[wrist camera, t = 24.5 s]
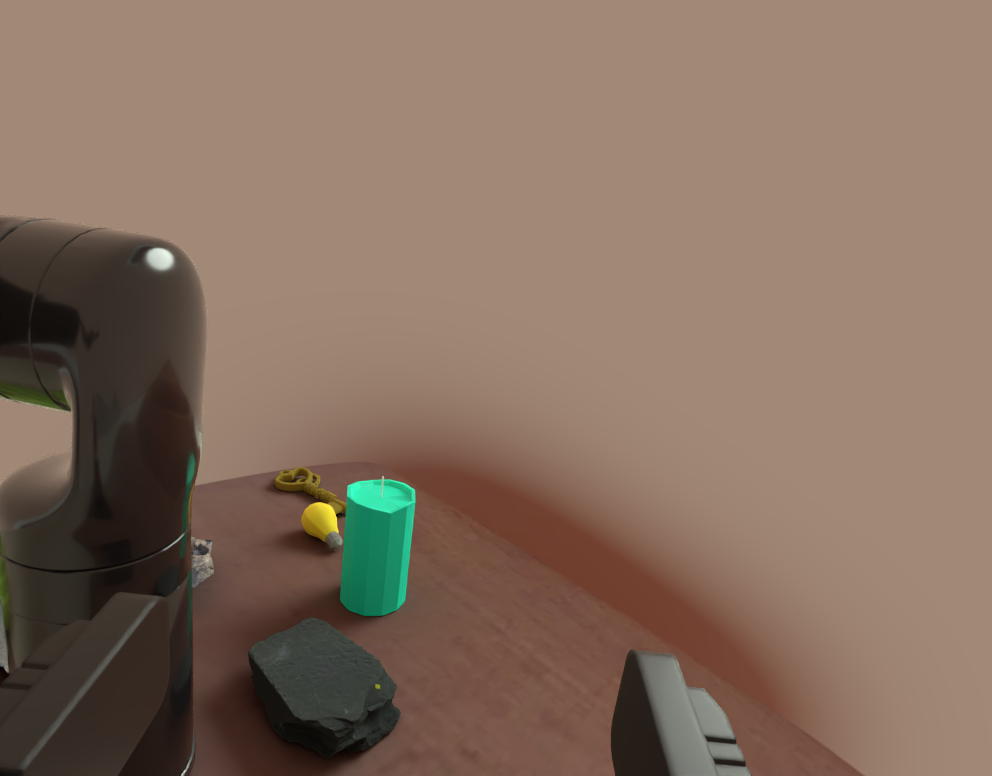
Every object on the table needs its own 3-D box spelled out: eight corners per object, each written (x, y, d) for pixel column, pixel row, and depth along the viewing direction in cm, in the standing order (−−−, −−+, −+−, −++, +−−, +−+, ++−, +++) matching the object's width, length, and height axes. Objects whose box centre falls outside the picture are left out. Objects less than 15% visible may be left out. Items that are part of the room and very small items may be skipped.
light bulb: (319, 520, 74) (331, 494, 72) (346, 558, 70) (359, 531, 69) (291, 523, 71) (303, 495, 70) (317, 562, 67) (330, 534, 66)
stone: (228, 643, 50) (225, 677, 50) (322, 744, 42) (317, 783, 43) (325, 606, 56) (321, 637, 57) (421, 689, 48) (416, 724, 49)
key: (333, 522, 74) (368, 504, 78) (333, 512, 74) (368, 494, 77) (265, 484, 80) (300, 469, 84) (265, 474, 80) (300, 460, 84)
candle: (330, 610, 60) (338, 486, 56) (350, 572, 66) (358, 457, 62) (397, 621, 60) (410, 497, 56) (411, 582, 65) (423, 467, 62)
